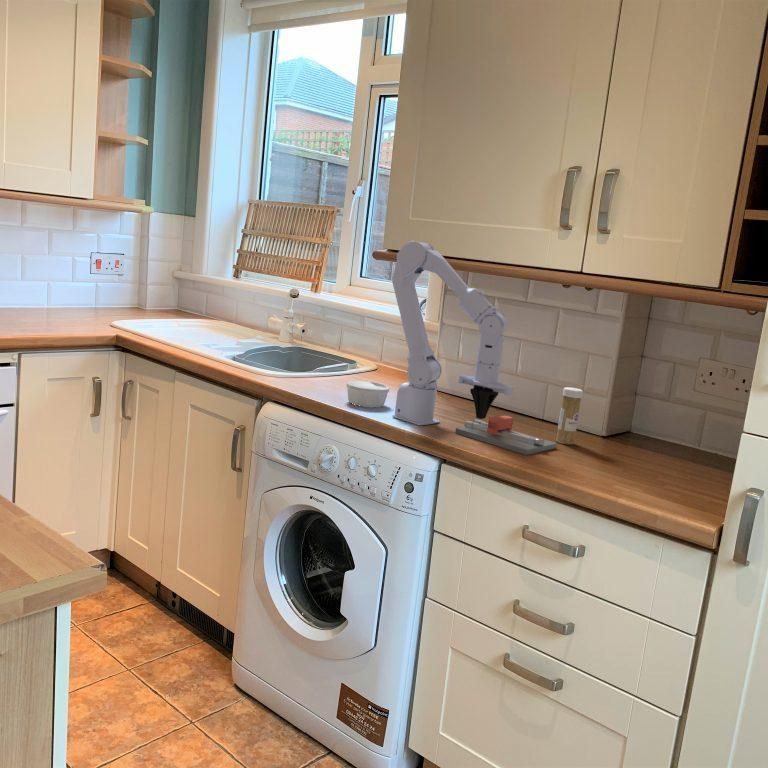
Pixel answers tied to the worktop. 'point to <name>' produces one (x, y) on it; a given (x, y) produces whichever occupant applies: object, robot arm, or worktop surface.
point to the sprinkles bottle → (569, 415)
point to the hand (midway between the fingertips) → (480, 418)
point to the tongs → (505, 433)
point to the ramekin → (367, 393)
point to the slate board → (505, 441)
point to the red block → (499, 424)
